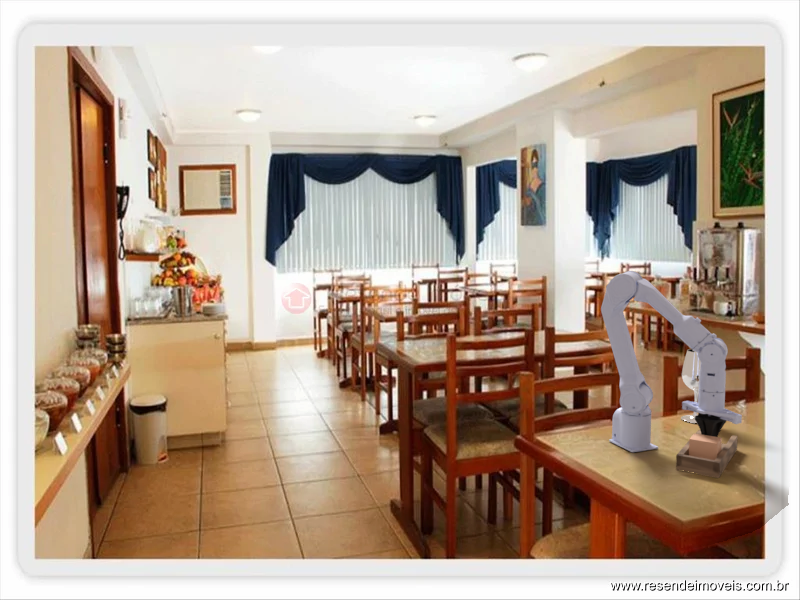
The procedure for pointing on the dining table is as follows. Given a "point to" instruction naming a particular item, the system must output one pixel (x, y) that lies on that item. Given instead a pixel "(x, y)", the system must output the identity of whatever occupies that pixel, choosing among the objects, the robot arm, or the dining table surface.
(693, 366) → the wineglass
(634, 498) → the dining table surface
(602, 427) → the dining table surface
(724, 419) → the robot arm
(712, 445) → the block
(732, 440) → the shallow wooden tray
